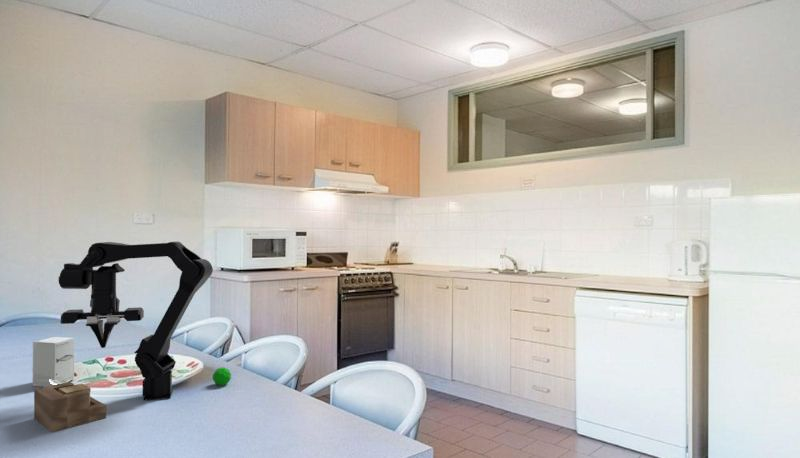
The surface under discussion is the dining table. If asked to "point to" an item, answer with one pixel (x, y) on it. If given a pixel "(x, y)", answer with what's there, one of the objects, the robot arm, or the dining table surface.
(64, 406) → the socket
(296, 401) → the dining table surface
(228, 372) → the polyhedron
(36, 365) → the supplement box
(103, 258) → the robot arm
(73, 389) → the peg
